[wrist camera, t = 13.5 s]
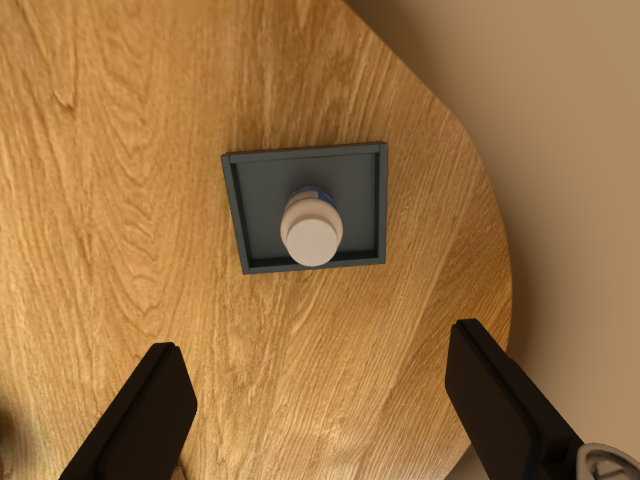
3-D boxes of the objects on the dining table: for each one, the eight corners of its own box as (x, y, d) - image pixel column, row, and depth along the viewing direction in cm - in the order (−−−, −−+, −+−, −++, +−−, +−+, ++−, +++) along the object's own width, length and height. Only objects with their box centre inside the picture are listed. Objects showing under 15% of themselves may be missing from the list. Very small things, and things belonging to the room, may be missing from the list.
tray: (381, 141, 30) (388, 143, 27) (379, 253, 35) (385, 263, 32) (226, 152, 29) (219, 155, 27) (247, 264, 34) (242, 275, 32)
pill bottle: (342, 224, 32) (355, 265, 23) (295, 238, 33) (291, 284, 24) (327, 176, 30) (336, 201, 21) (277, 192, 31) (266, 223, 22)
